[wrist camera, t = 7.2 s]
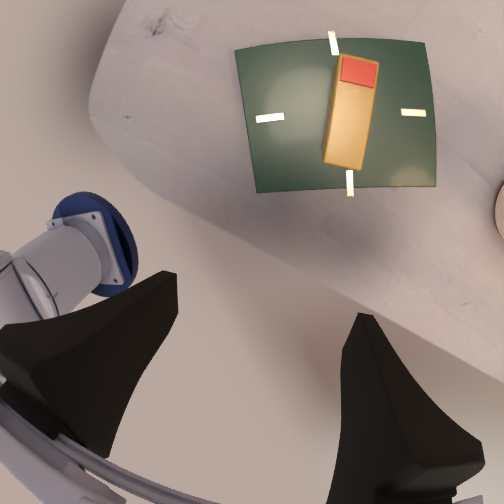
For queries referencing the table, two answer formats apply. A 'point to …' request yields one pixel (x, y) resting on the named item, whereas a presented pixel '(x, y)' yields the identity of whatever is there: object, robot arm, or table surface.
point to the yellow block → (350, 111)
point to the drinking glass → (500, 212)
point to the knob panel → (316, 107)
